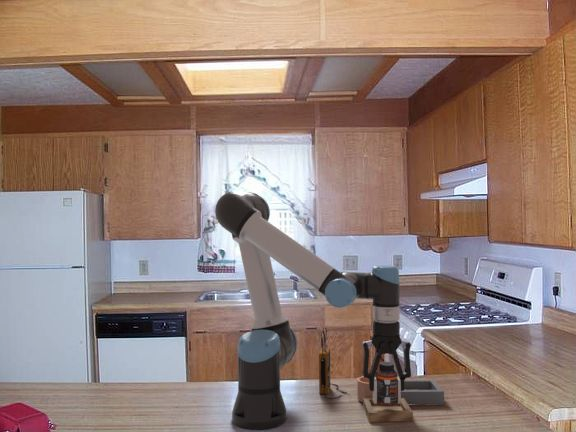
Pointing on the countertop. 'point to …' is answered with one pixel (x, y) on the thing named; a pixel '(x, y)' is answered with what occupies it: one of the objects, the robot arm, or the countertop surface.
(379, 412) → the square wooden tray
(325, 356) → the multimeter
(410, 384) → the tray
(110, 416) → the countertop surface
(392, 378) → the supplement bottle
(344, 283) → the robot arm
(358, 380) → the empty cup
